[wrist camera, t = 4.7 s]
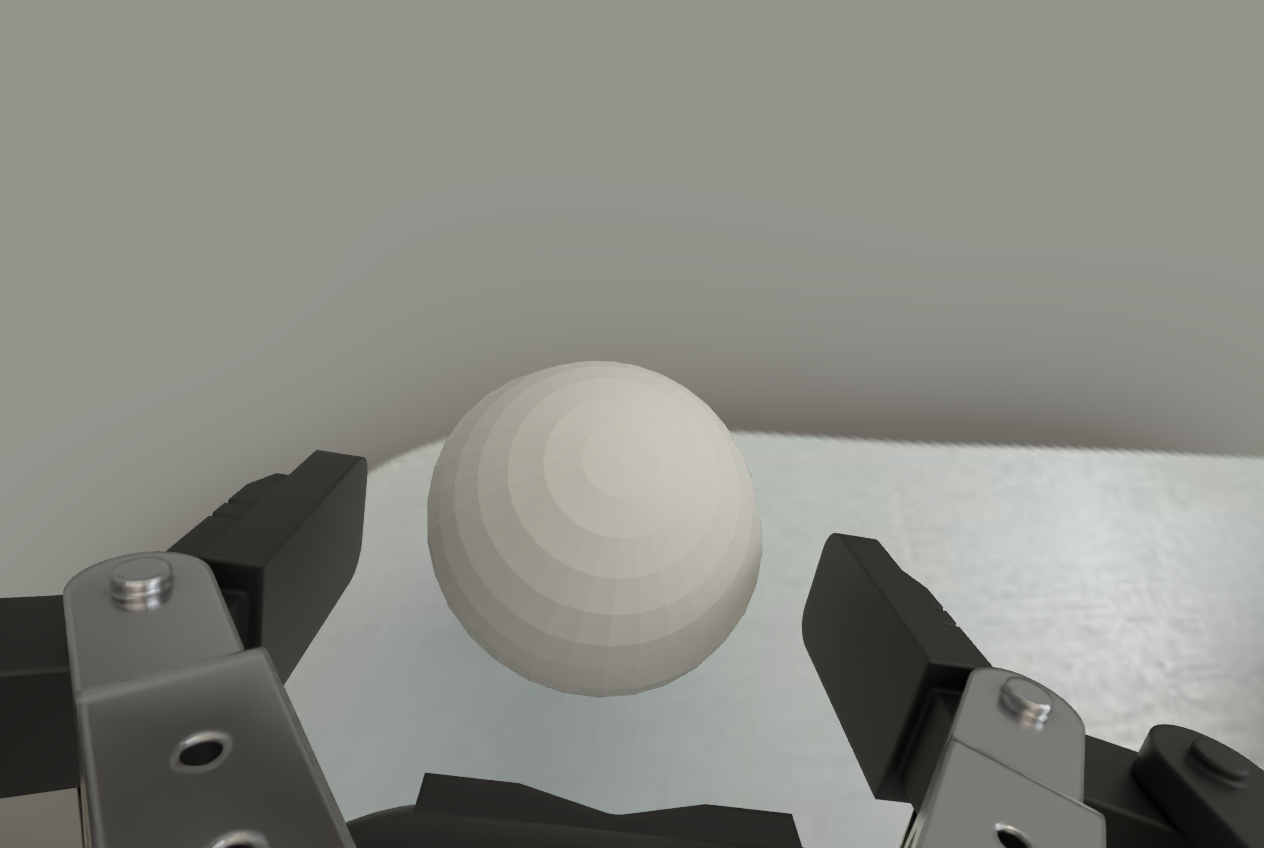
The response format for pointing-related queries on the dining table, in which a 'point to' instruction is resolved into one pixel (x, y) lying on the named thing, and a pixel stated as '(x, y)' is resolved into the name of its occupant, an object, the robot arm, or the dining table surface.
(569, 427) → the lollipop
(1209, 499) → the dining table surface
